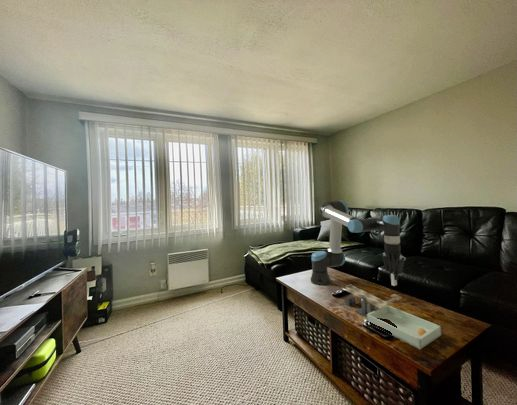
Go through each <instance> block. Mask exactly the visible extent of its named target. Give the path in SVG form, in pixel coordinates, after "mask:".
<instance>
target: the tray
mask: <svg viewBox="0 0 517 405" xmlns="http://www.w3.org/2000/svg"><path fill="white" fill-rule="evenodd" d="M377 318H385V319H388V320H390V321H391V322H392V323H394V324H395V325H396V326H397V328H396V327H394V326H392V325H390V324H388V323H386V322H384V321H382V320H380V319H377ZM365 319H366V322H367V321H369V322H371V323H373V324H375V325H377V326H380V327H382V328H384V329H386V330H388V331H390V332H391V333H392V335H391V336H393V337H394V338H397V339H399V340H401V341H402V342H405V343H406V344H408V345H411V346H412V347H414V348H416V349H418V350H422V349H424V348H425V347H427V346H428V345H429V344H430V343H432V342H434V341H435V340H436V339H438V338H439V337H441V336H442V327H441V325H439V324H436V323H434V322H431V321H429V320H426V319H423V318H421V317H419V316H416V315H413V314H412V313H409V312H406V311H404V310H401V309H398V308H396V307H394V306H391V305H389V304H387V306H386V307H384V308H382V309H380V308H377V309H376V310H375V311H373V312H370V313H368V314H366V317H365ZM420 328H422V329H424V330H425V331H426V333H425V334H423V335H422V336H420V335H419V334H418V329H420Z"/></svg>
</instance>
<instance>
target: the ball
mask: <svg viewBox="0 0 517 405" xmlns="http://www.w3.org/2000/svg"><path fill="white" fill-rule="evenodd" d="M425 333H426V331H425V330H424V329H422V328H420V329H418V334H419V335H420V336H422V335H423V334H425Z"/></svg>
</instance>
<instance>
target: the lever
mask: <svg viewBox="0 0 517 405" xmlns="http://www.w3.org/2000/svg"><path fill="white" fill-rule="evenodd" d="M345 291H346V292H348V293H350V294H352V295H354V296H355V297H357V298H360V299H361V297H365V298H366V303H369V304H370V303H371V304H373V305H375V307H376V308H377V309H379V308H380V309H382V308H384V307H386V306H387V305H389V304H392V303H394V302H396V301H400V300H401V299H403V297H402V296H400V295H398V294H396V293H394V294H391V295H390V298H389V299H388V300H383V299H381V298H379V297H377V296H373V295H371V294H372V293H368V292H367V291H365V290H364V289H361V288H360V287H359V288H358V287H356V286H355V285H353V284H347V285H345Z"/></svg>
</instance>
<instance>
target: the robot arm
mask: <svg viewBox="0 0 517 405" xmlns="http://www.w3.org/2000/svg"><path fill="white" fill-rule="evenodd" d="M348 213H349V206H348V204H347V202H345V201H344V200H326V201H323V202H321V203H320V204H319V207H318V214H319V215H320V216H321V217H323V218H326V219H329V220H330V223H329V224H330V226H329V227H330V228H329V229H330V230H329V245H328V248H326V251H325V250H319V251H318V250H317V251H315V252H313V253H312V254H311V268H312V270H311V271H312V272H311V276H310V283H312V282H313V283H315V284H314V285H317V284H320V285H319V286H326V284H327V285H329V283H330V284H331V277H330V275H329V272H328V268H333V267H334V268H336V267H340V266H341V267H342V266H343V265H344V264H345V262H346V256H345V253H344V252H343V250H342V248H341V247H342V245H341V244H342V233H343V232H342V228H343V226H345V227H347V229H348V230H349V232H350V233H356V234H357V233H358V234H359V233H365V232H373V231H380V232H383V242H384V252H383V253H382V252H381V253H380V256H381V258H382V262H383V265H384V269H385V272H388V273H389V279H390V283H391V286H393V287H395V286H397V285H398V280H399V274H403V270H404V265H405V262H406V259H407V257H406V256H403V254H402V252H401V250H402V248H401V244H400V243H401V235H400V218H399V216H398V215H396V214H395V215H394V214H386V215H383V216H382V218H380V217H367V218H358V217H356V216H354V215H351V214H348ZM313 283H312V284H313Z"/></svg>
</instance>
